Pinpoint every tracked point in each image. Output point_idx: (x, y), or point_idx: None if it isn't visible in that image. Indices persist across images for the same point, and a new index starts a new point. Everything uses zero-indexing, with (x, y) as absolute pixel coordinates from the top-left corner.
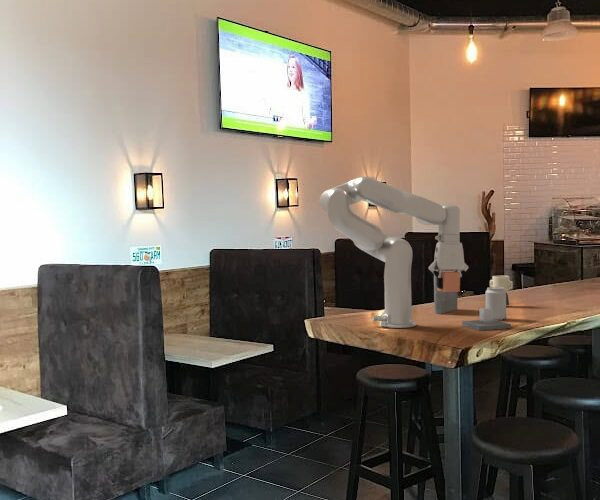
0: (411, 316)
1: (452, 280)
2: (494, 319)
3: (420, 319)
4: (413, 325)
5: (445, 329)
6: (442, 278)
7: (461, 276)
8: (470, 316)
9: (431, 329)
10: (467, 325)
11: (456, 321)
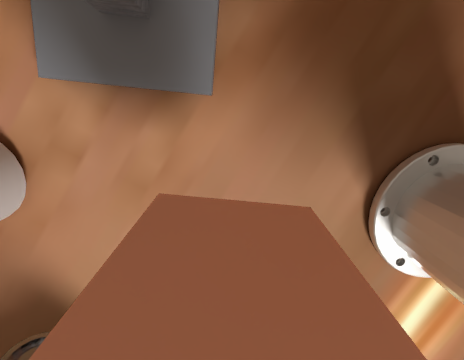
0: (428, 196)
1: (234, 261)
2: (4, 147)
3: None
4: (419, 153)
5: (339, 33)
6: None
7: (20, 345)
8: (62, 280)
9: (390, 65)
10: (216, 37)
11: None
